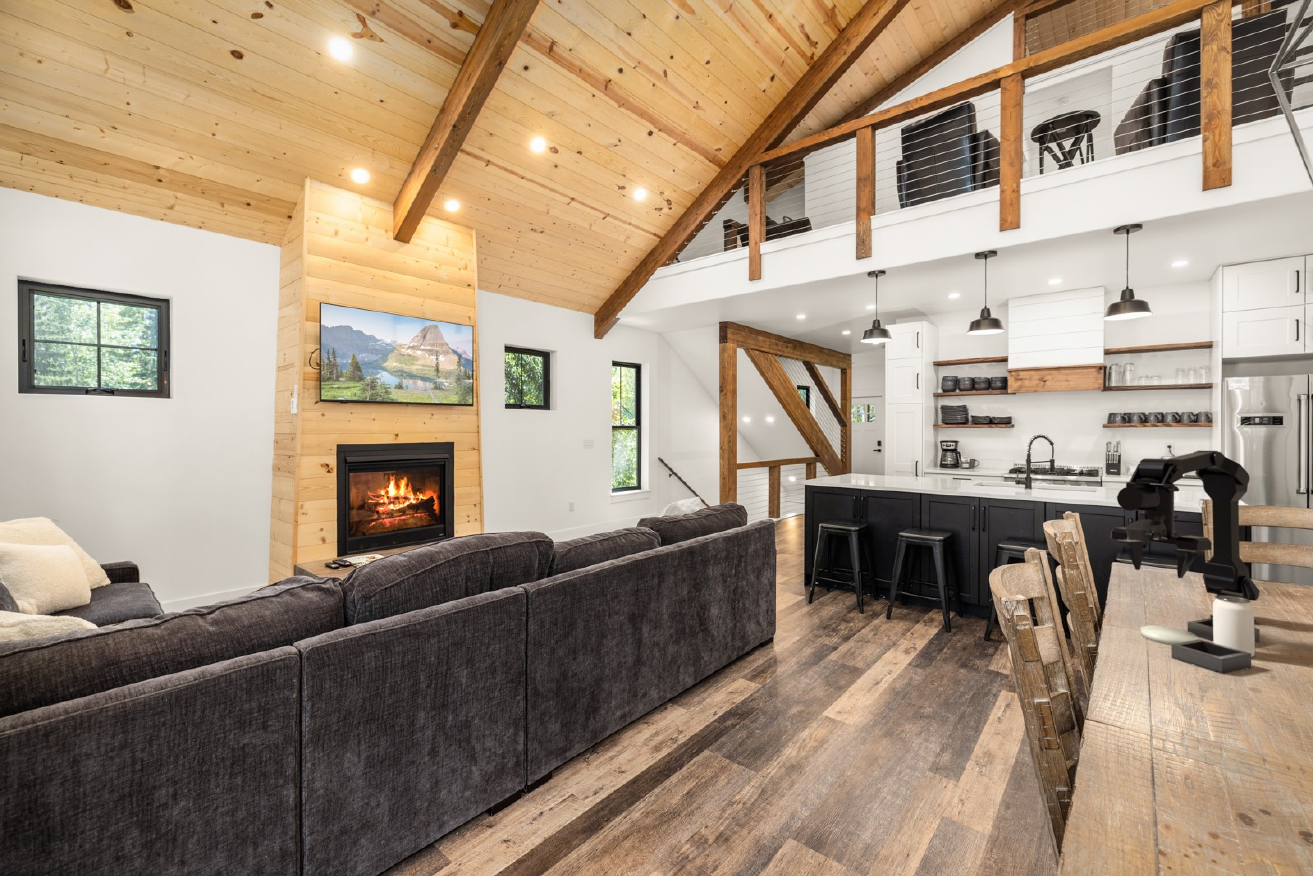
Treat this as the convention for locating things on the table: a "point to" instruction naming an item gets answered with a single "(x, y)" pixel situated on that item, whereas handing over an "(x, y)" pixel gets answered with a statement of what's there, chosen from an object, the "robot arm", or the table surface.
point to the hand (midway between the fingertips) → (1158, 573)
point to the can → (1234, 623)
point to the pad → (1166, 634)
